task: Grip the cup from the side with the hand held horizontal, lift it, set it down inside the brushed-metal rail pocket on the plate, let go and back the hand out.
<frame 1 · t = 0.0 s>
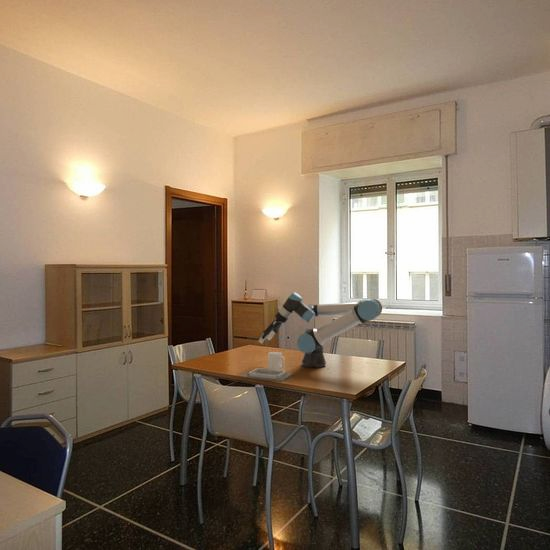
hand: (264, 340, 280), 15 cm above the table, tool tilted 35°, fingers open, 13 cm apart
cup: (276, 370, 265), on the table
rail plate: (267, 376, 250), on the table
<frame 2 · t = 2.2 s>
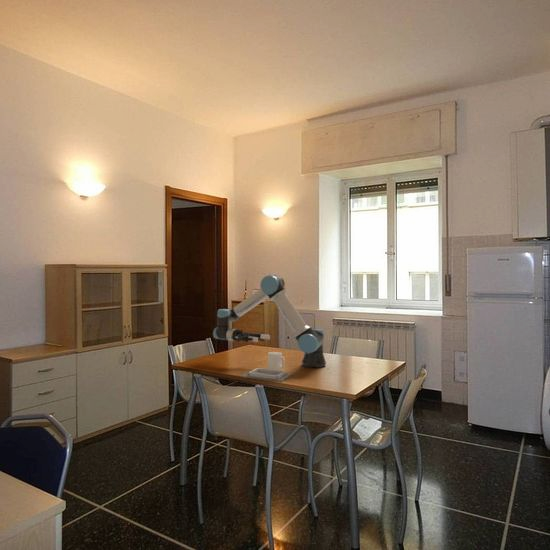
hand: (263, 338, 270), 18 cm above the table, tool horizontal, fingers open, 13 cm apart
nothing on the table moved.
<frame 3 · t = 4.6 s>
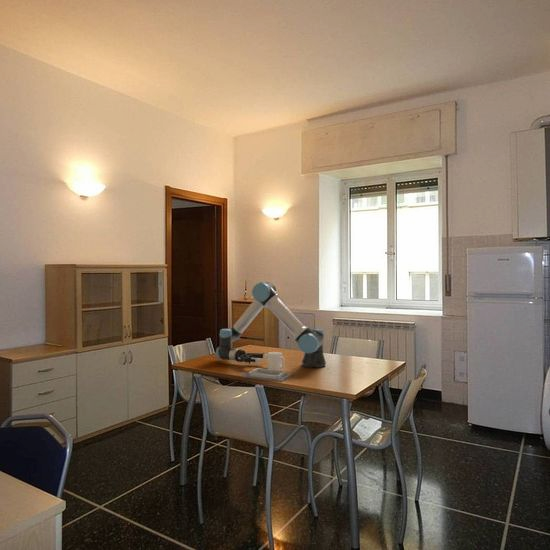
hand: (266, 359, 269), 6 cm above the table, tool horizontal, fingers open, 13 cm apart
nothing on the table moved.
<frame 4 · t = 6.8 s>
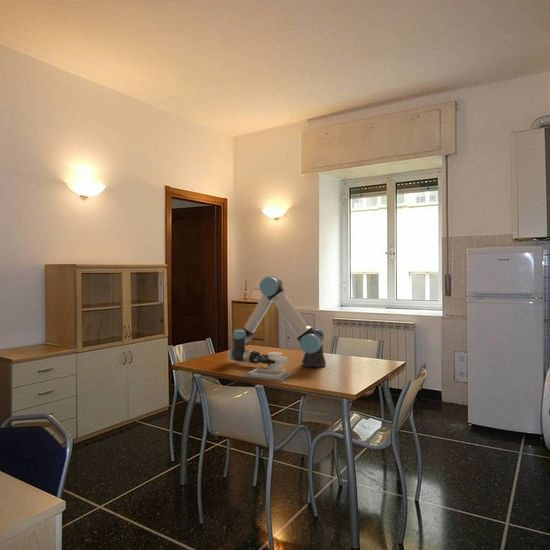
hand: (284, 361, 263), 6 cm above the table, tool horizontal, fingers closed on cup, 8 cm apart
cup: (276, 370, 265), on the table, touching gripper
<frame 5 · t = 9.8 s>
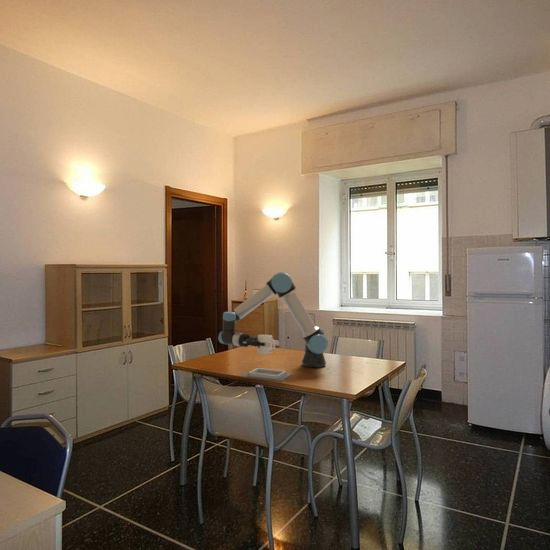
hand: (274, 344, 250), 18 cm above the table, tool horizontal, fingers closed on cup, 8 cm apart
cup: (267, 354, 252), point 12 cm above the table, touching gripper
when the fingers open (8 cm above the table, at t = 12.8 s): cup drops 1 cm, resting on rail plate.
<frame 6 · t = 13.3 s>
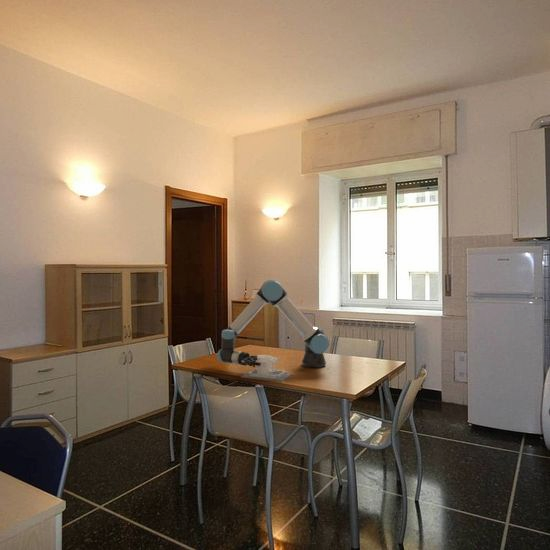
hand: (272, 362, 249), 8 cm above the table, tool horizontal, fingers open, 13 cm apart
cup: (266, 375, 250), point 1 cm above the table, touching rail plate
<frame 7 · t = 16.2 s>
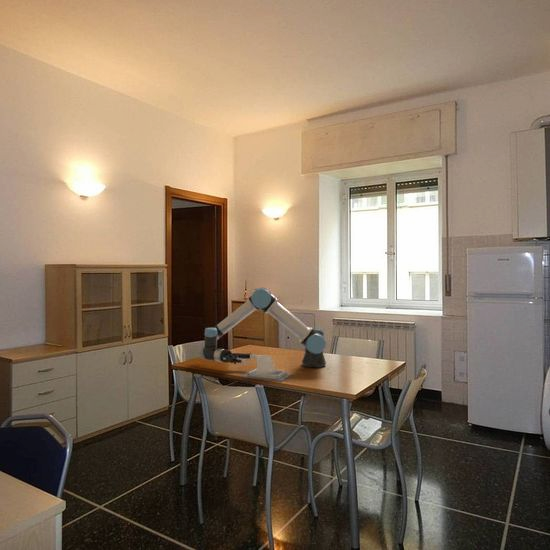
hand: (253, 359, 255), 8 cm above the table, tool horizontal, fingers open, 13 cm apart
nothing on the table moved.
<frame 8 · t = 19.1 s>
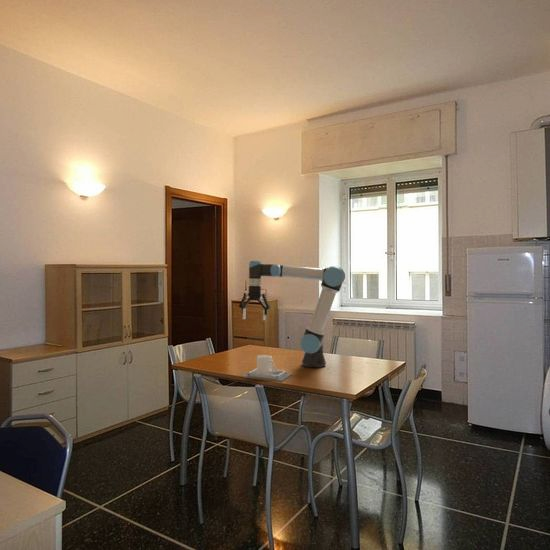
hand: (254, 319, 277), 29 cm above the table, tool pointing down, fingers open, 13 cm apart
nothing on the table moved.
at the end: cup 0.5 cm off-centre on the rail plate, point 0.6 cm above the rail plate's base; cup tilted 0°; the gripper is holding nothing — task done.
